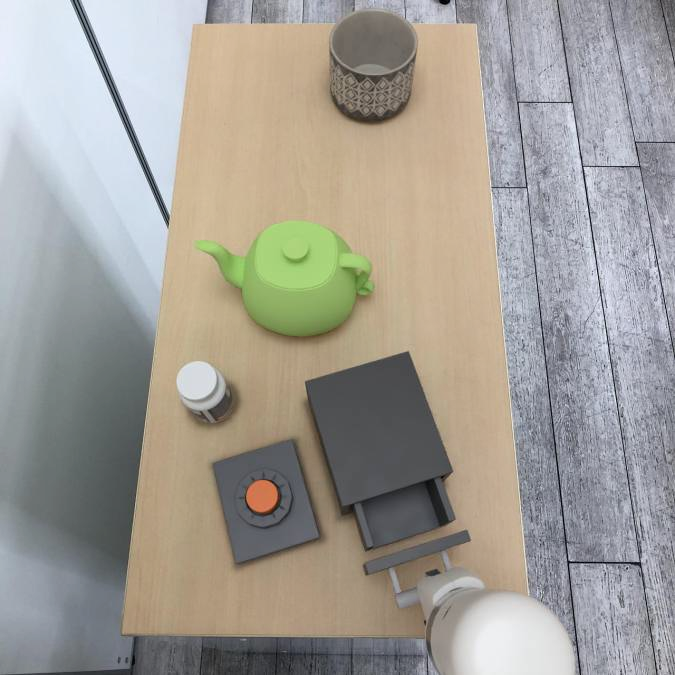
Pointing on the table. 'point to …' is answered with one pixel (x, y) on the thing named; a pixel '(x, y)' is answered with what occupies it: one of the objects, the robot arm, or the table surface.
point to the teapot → (296, 277)
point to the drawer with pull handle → (406, 529)
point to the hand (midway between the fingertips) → (440, 623)
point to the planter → (372, 63)
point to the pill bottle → (205, 392)
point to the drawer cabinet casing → (376, 430)
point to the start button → (262, 496)
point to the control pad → (281, 523)
